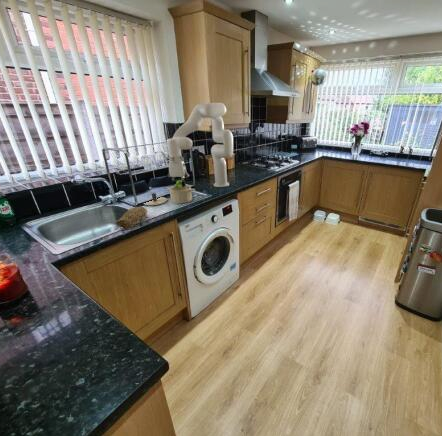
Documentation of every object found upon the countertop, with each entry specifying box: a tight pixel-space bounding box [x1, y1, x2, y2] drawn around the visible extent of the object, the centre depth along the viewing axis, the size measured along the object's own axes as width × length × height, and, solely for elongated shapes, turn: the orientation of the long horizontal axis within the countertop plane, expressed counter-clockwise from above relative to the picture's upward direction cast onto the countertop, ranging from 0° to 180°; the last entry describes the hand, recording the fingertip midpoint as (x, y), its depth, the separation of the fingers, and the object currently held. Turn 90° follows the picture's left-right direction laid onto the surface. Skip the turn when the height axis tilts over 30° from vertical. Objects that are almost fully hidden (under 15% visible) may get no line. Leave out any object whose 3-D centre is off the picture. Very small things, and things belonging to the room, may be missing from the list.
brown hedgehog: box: [115, 206, 148, 230], centre depth 132 cm, size 13×8×20 cm
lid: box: [142, 192, 168, 206], centre depth 160 cm, size 15×15×6 cm
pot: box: [165, 184, 196, 204], centre depth 163 cm, size 14×19×8 cm
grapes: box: [173, 179, 182, 188], centre depth 159 cm, size 10×5×5 cm, turn 173°
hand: (179, 186), depth 161 cm, fingers closed on grapes, 5 cm apart
